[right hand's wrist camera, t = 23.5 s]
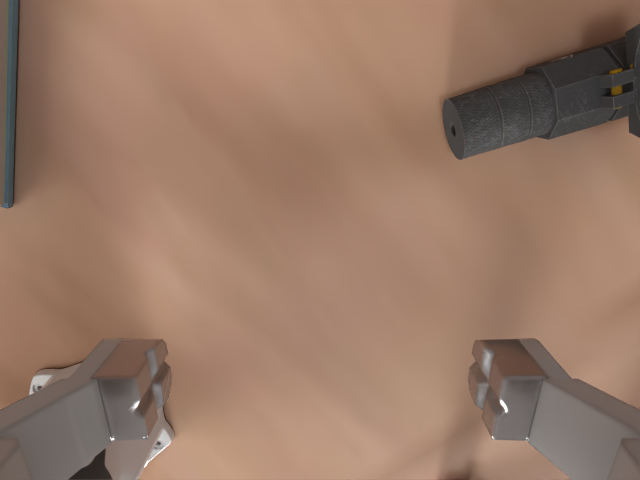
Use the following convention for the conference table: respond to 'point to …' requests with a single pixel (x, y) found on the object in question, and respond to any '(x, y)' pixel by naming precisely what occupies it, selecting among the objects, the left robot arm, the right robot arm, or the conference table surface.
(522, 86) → the laser sight
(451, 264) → the conference table surface
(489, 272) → the conference table surface
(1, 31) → the book
